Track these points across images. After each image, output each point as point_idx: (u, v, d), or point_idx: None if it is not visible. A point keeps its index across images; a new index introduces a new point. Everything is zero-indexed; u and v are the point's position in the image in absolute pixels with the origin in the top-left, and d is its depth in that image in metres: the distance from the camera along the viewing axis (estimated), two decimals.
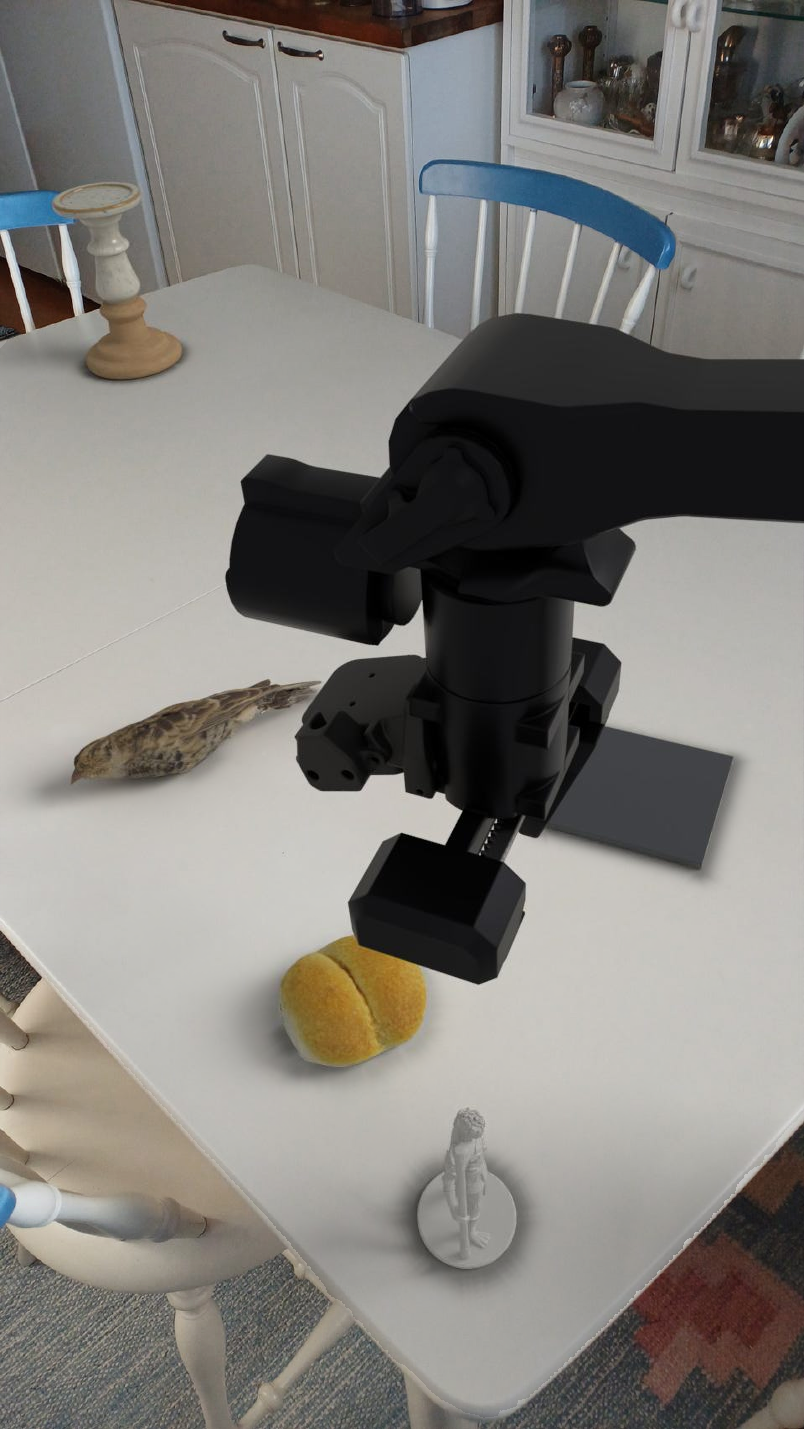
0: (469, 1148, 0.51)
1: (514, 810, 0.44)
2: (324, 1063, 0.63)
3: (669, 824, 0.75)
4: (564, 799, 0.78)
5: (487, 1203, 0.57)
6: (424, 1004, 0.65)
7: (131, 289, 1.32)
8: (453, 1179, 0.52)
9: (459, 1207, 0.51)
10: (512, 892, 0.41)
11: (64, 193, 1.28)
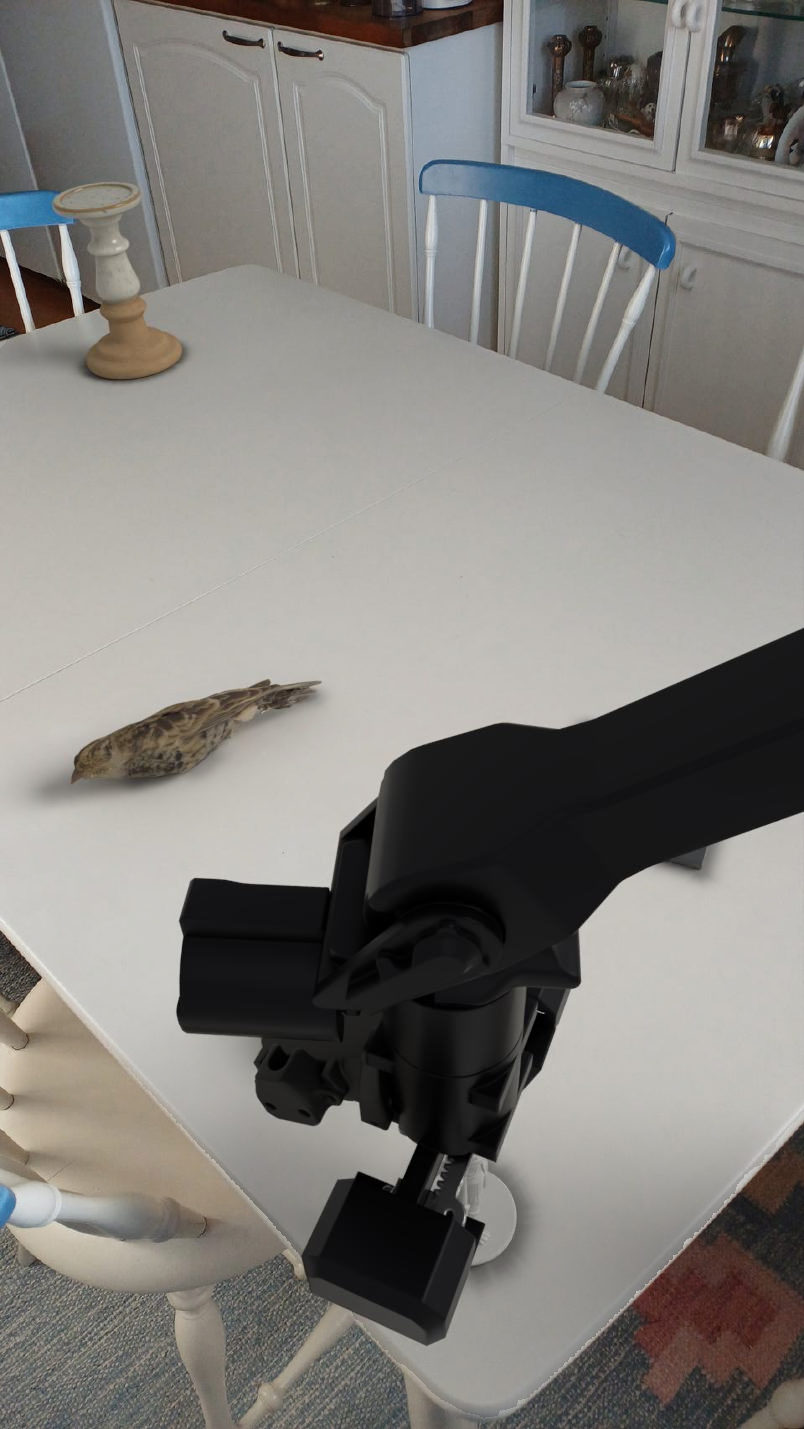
0: None
1: (466, 1149, 0.45)
2: None
3: None
4: None
5: (487, 1202, 0.57)
6: None
7: (131, 289, 1.32)
8: None
9: (459, 1194, 0.51)
10: (462, 1251, 0.42)
11: (64, 193, 1.28)
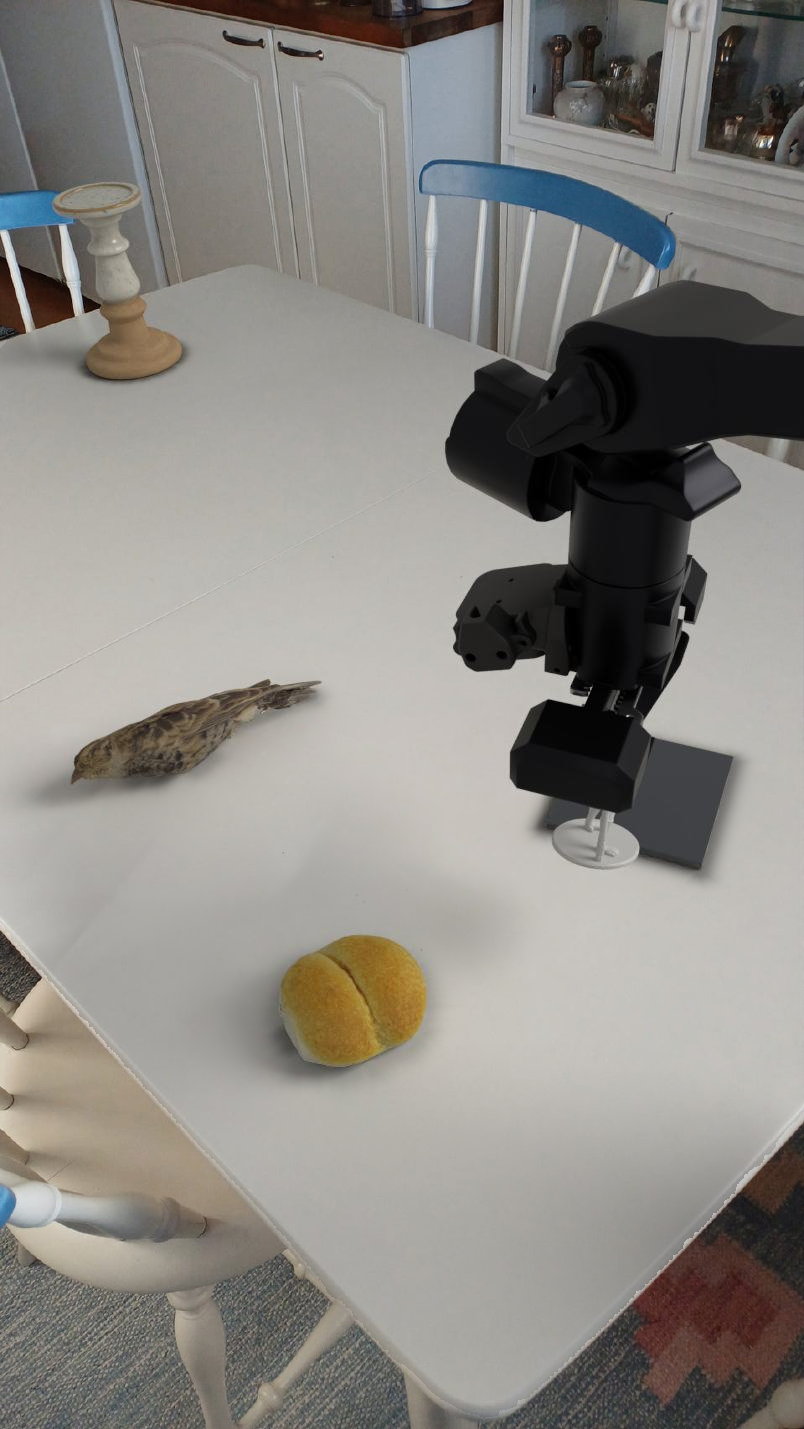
0: None
1: (635, 682, 0.55)
2: (324, 1063, 0.63)
3: (669, 824, 0.75)
4: None
5: (612, 836, 0.66)
6: (424, 1004, 0.65)
7: (131, 289, 1.32)
8: None
9: None
10: (642, 741, 0.52)
11: (64, 193, 1.28)
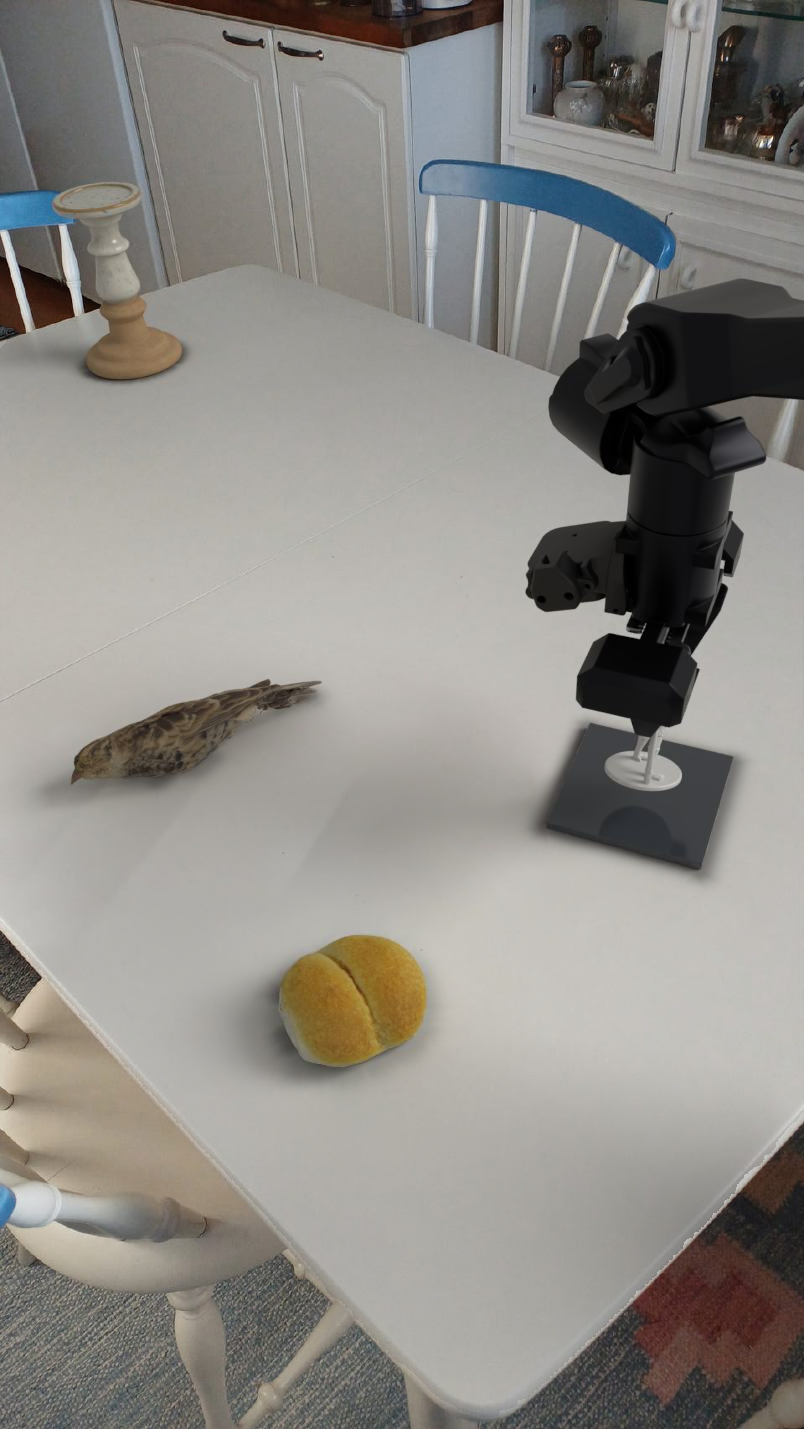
0: None
1: (683, 620, 0.64)
2: (324, 1063, 0.63)
3: (669, 824, 0.75)
4: (564, 799, 0.78)
5: (657, 765, 0.75)
6: (424, 1004, 0.65)
7: (131, 289, 1.32)
8: None
9: None
10: (690, 667, 0.61)
11: (64, 193, 1.28)
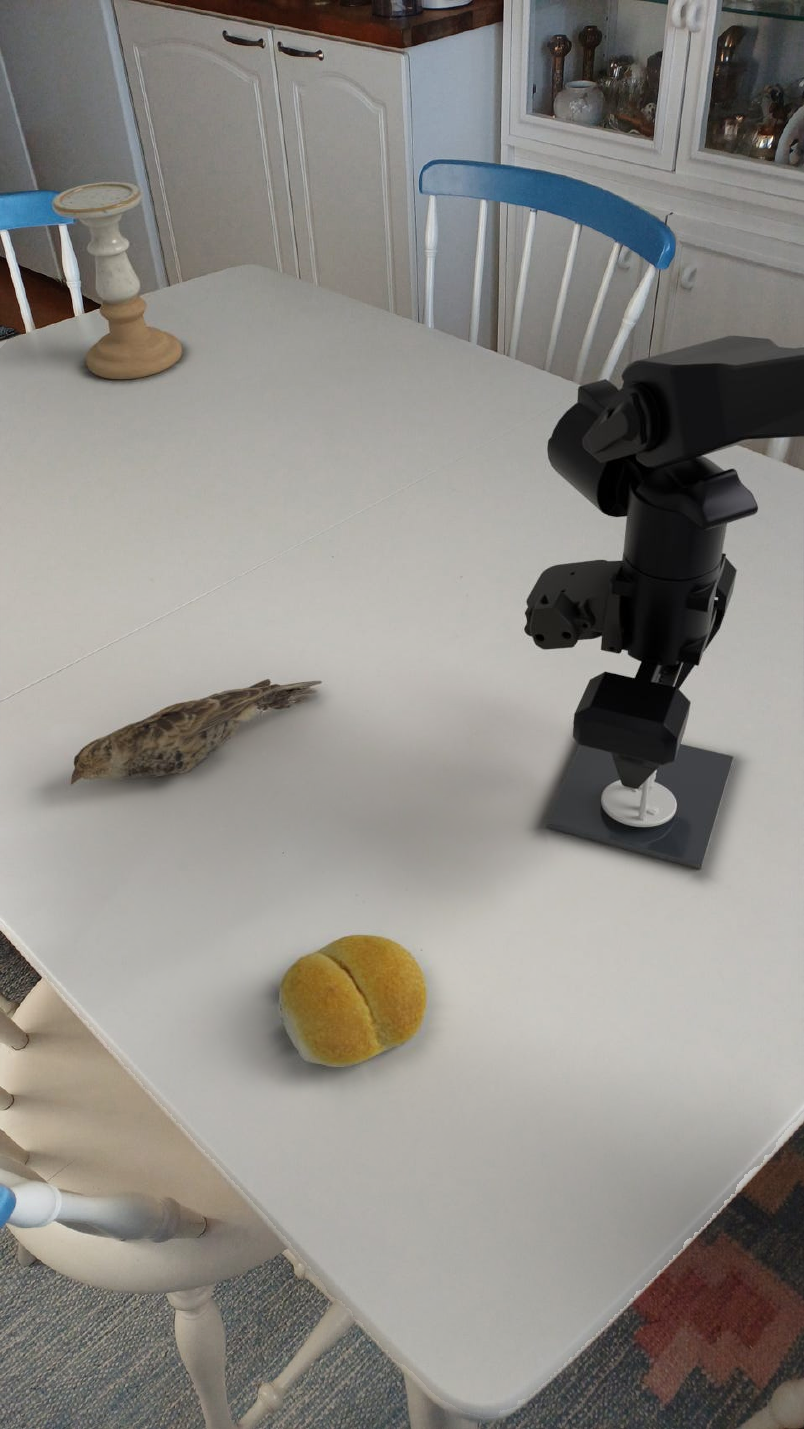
0: None
1: (677, 659, 0.66)
2: (324, 1063, 0.63)
3: (669, 824, 0.75)
4: (564, 799, 0.78)
5: (653, 794, 0.77)
6: (424, 1004, 0.65)
7: (131, 289, 1.32)
8: None
9: None
10: (683, 706, 0.63)
11: (64, 193, 1.28)
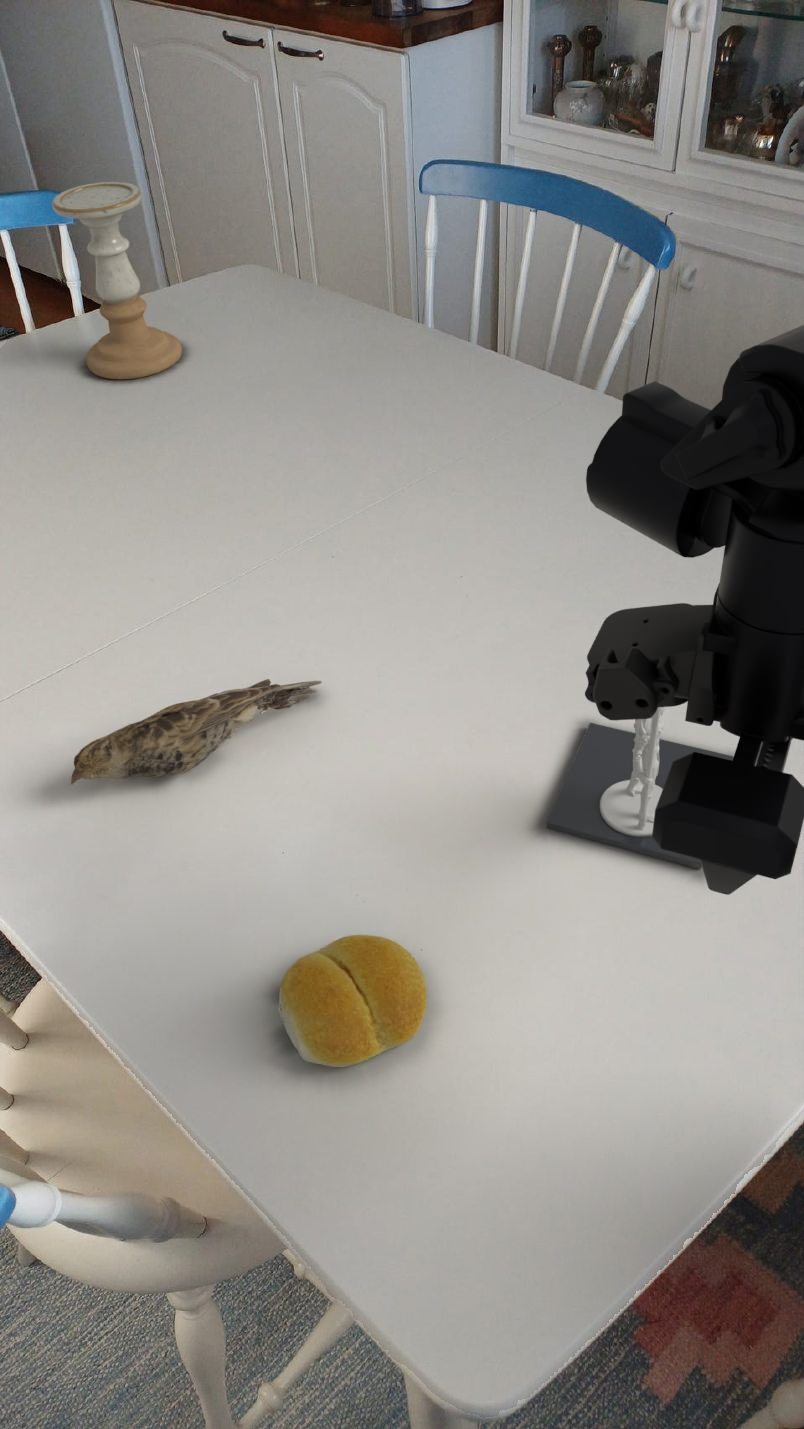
0: None
1: (787, 734, 0.51)
2: (324, 1063, 0.63)
3: None
4: (564, 799, 0.78)
5: (651, 798, 0.77)
6: (424, 1004, 0.65)
7: (131, 289, 1.32)
8: (641, 750, 0.71)
9: (647, 768, 0.71)
10: (801, 800, 0.48)
11: (64, 193, 1.28)
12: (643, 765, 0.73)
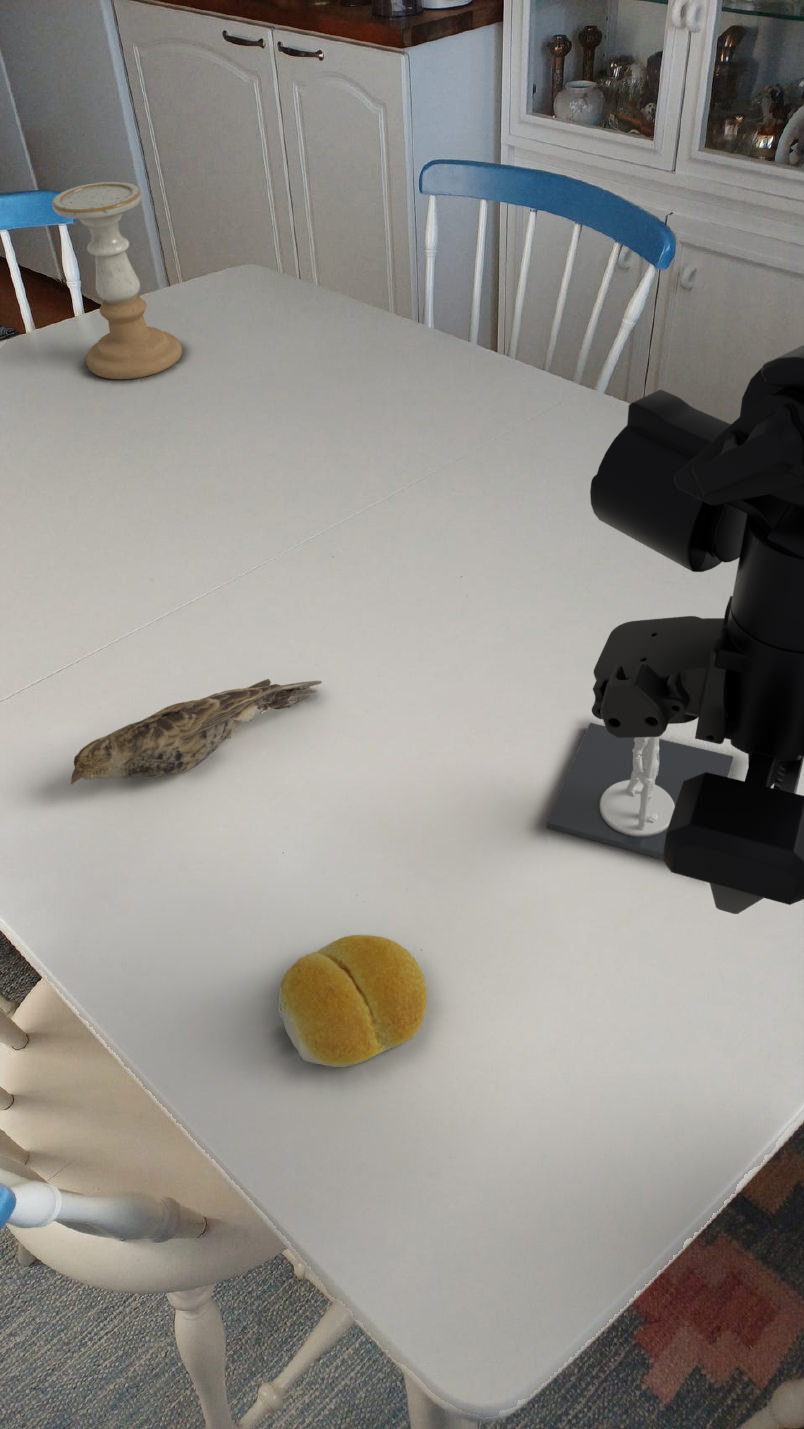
0: None
1: (800, 753, 0.49)
2: (324, 1063, 0.63)
3: None
4: (564, 799, 0.78)
5: (651, 798, 0.77)
6: (424, 1004, 0.65)
7: (131, 289, 1.32)
8: (641, 750, 0.71)
9: (647, 768, 0.71)
10: None
11: (64, 193, 1.28)
12: (643, 765, 0.73)
